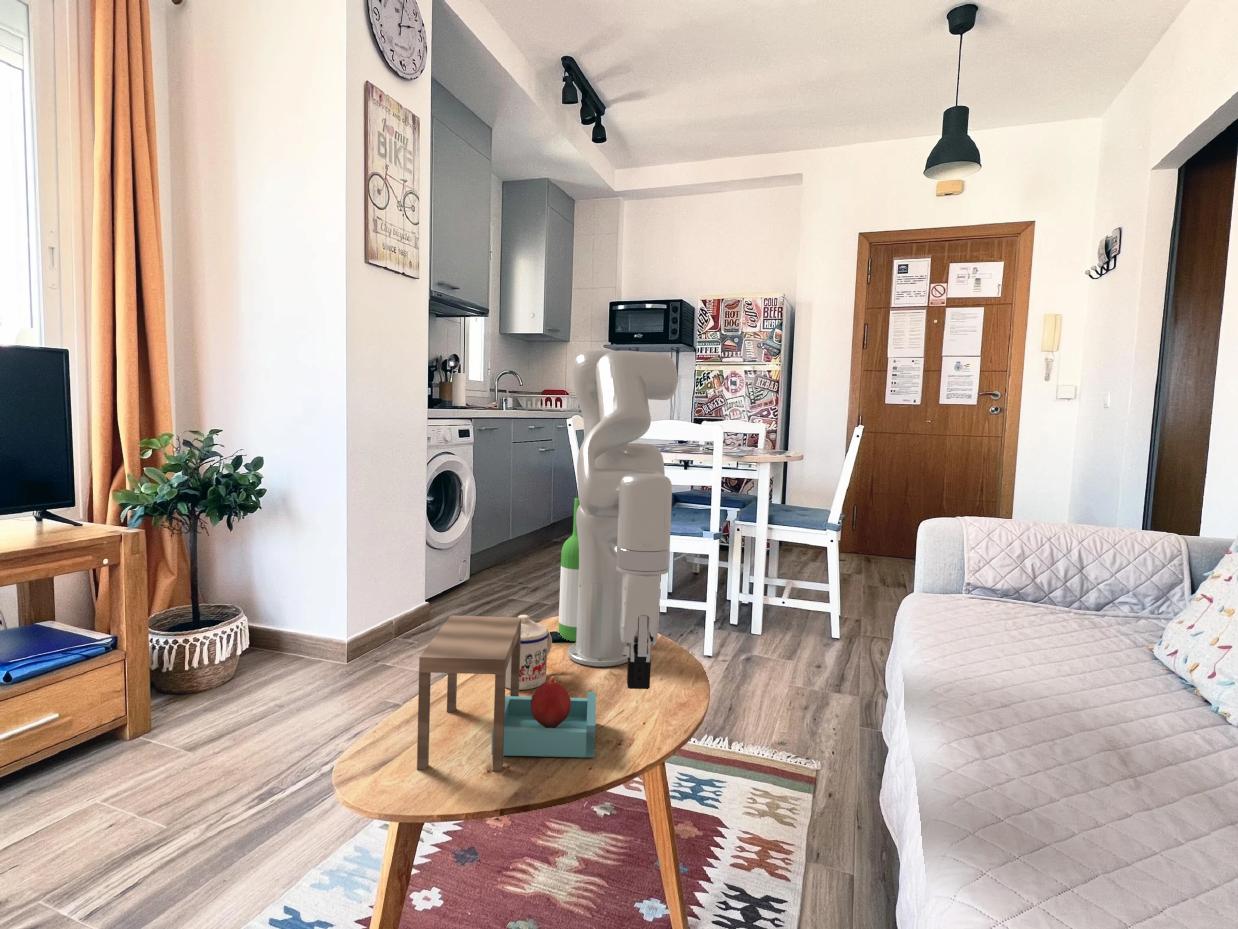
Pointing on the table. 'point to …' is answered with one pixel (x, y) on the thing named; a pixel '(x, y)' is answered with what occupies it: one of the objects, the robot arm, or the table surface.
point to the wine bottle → (569, 583)
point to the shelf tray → (549, 730)
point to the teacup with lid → (531, 655)
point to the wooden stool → (470, 670)
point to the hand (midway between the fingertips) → (638, 686)
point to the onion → (550, 703)
